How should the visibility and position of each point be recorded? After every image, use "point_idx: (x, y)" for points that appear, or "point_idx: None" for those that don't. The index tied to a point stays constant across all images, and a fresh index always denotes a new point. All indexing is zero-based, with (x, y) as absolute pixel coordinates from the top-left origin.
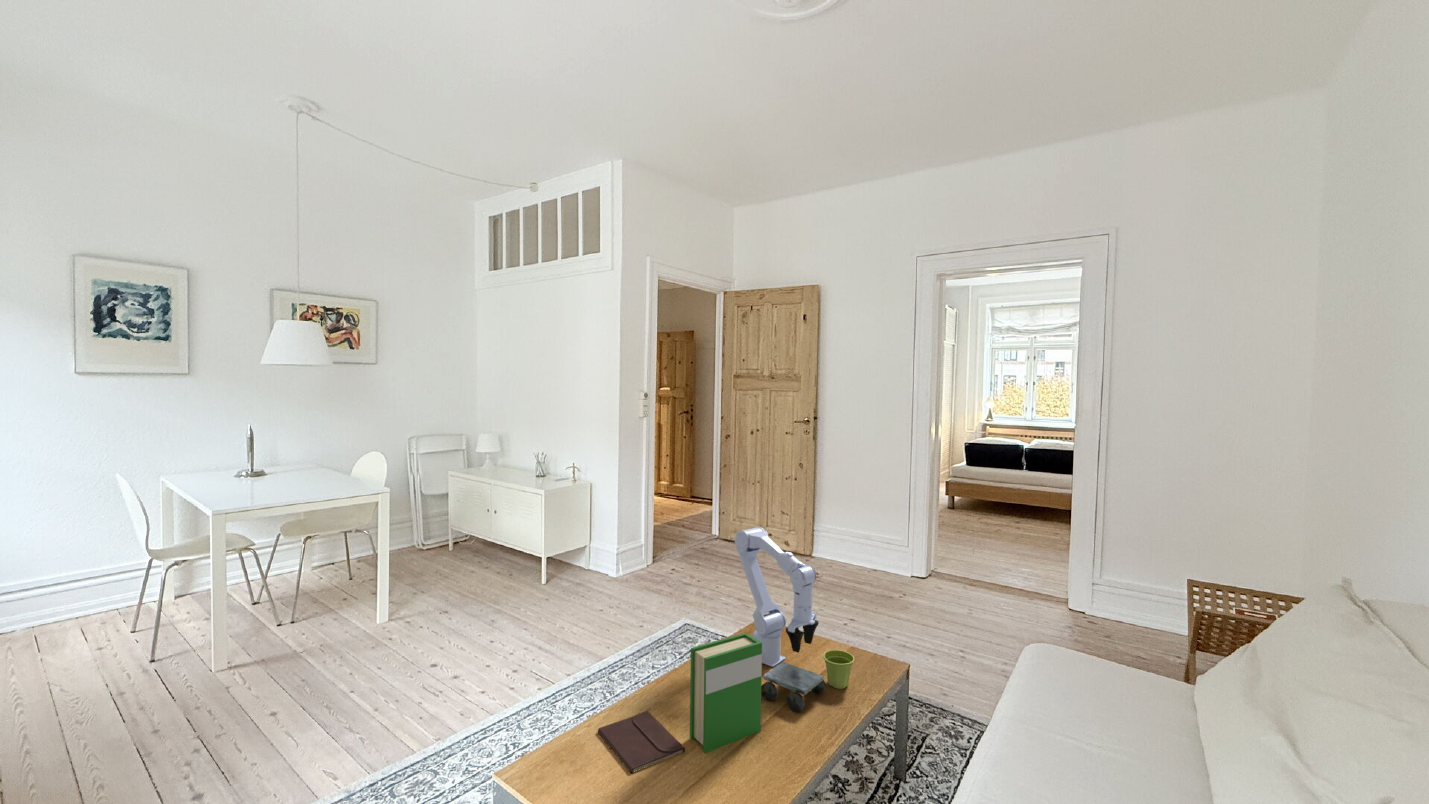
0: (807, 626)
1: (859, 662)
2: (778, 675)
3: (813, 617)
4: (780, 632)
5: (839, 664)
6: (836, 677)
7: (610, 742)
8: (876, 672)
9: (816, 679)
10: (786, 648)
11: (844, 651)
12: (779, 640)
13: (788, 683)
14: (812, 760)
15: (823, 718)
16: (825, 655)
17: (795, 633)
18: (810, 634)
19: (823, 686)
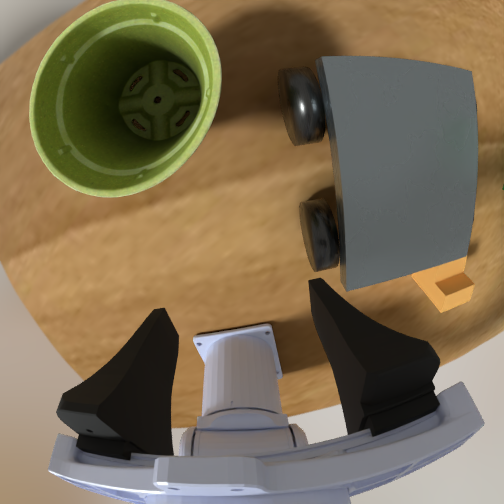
0: (151, 416)
1: (7, 186)
2: (450, 221)
3: (106, 481)
4: (215, 420)
5: (192, 15)
6: (194, 64)
7: None
8: (7, 108)
9: (379, 66)
10: None
11: (35, 136)
12: (228, 394)
13: (473, 152)
14: (497, 5)
15: (399, 14)
16: (150, 175)
17: (430, 379)
18: (148, 357)
19: (301, 67)
